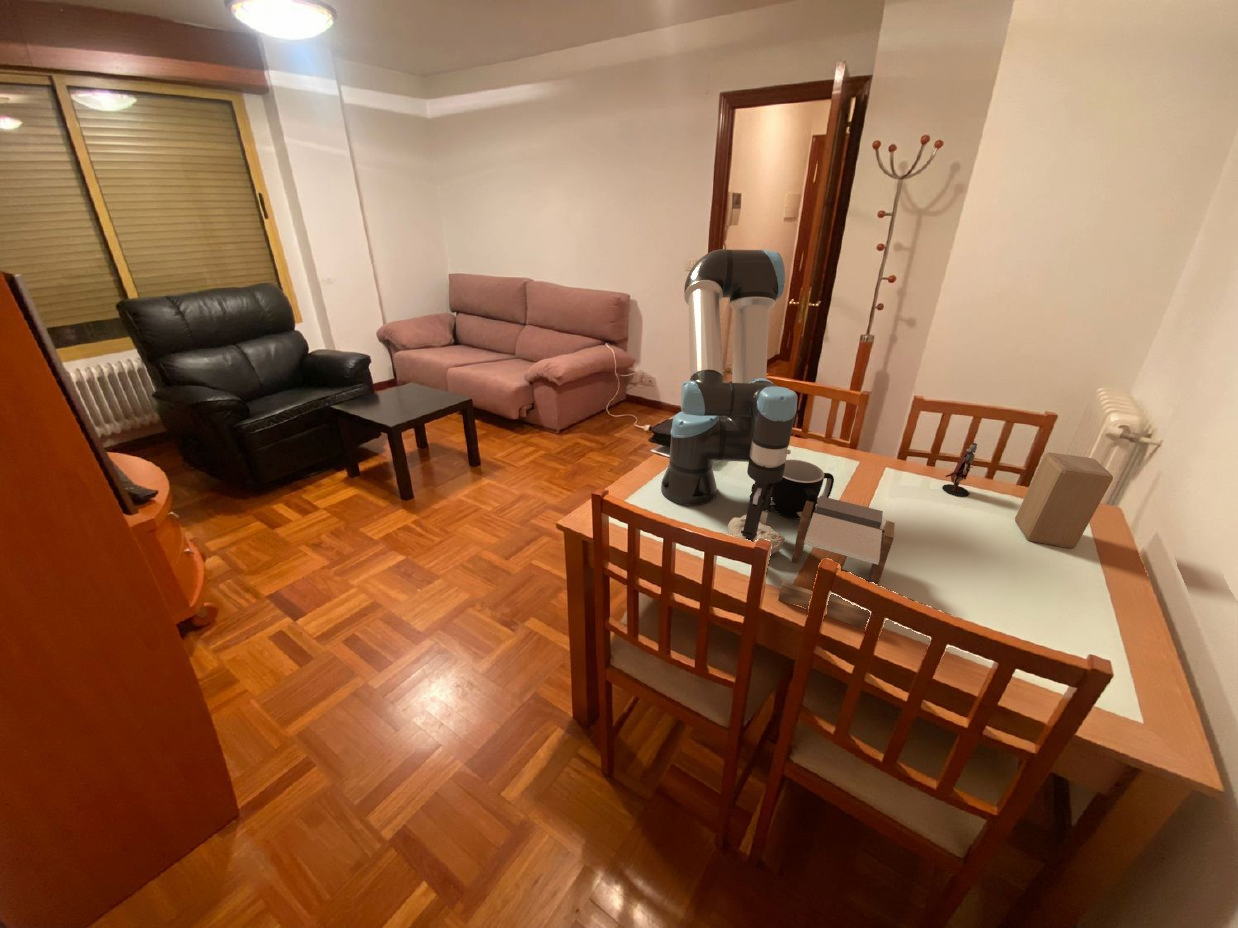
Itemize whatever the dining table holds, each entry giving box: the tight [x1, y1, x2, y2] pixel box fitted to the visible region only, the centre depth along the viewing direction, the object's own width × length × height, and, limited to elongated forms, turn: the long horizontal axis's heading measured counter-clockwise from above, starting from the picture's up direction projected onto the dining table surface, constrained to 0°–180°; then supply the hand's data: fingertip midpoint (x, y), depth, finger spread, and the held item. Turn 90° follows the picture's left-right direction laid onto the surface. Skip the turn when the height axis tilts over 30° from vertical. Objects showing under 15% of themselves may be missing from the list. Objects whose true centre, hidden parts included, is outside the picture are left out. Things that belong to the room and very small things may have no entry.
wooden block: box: [1014, 452, 1114, 549], centre depth 118 cm, size 10×10×20 cm
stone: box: [727, 514, 786, 556], centre depth 115 cm, size 8×12×10 cm
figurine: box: [941, 442, 978, 498], centre depth 137 cm, size 7×7×15 cm
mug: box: [769, 459, 835, 521], centre depth 128 cm, size 16×16×12 cm
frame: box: [777, 501, 895, 630], centre depth 102 cm, size 18×20×13 cm
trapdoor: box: [804, 495, 884, 565], centre depth 104 cm, size 13×19×3 cm
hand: (752, 544), depth 117 cm, fingers open, 9 cm apart
